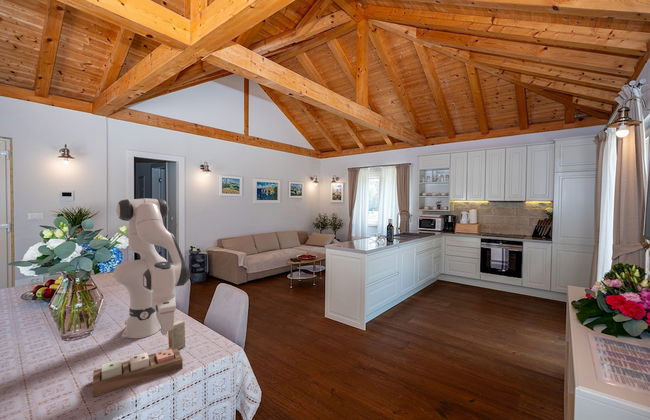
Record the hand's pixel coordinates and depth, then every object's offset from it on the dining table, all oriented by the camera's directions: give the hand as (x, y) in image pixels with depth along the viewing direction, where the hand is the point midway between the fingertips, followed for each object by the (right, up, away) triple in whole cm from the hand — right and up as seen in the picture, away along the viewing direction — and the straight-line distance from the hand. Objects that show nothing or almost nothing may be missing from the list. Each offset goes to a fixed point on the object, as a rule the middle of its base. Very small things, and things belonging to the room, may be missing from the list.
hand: (164, 333), depth 121 cm
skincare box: (-3, -14, +16) cm, 21 cm away
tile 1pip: (-14, -12, -11) cm, 22 cm away
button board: (-7, -14, -5) cm, 17 cm away
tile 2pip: (-7, -12, -5) cm, 15 cm away
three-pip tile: (0, -14, 0) cm, 14 cm away
